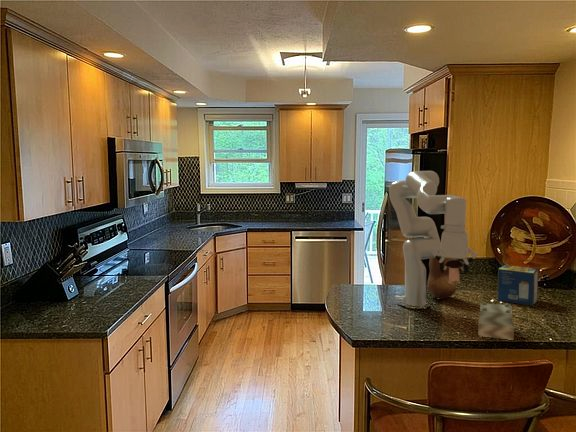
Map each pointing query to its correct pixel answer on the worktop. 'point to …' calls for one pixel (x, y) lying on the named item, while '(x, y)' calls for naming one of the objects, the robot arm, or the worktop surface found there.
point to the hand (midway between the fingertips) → (453, 272)
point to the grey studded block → (496, 321)
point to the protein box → (518, 285)
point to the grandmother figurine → (454, 270)
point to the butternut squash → (440, 279)
